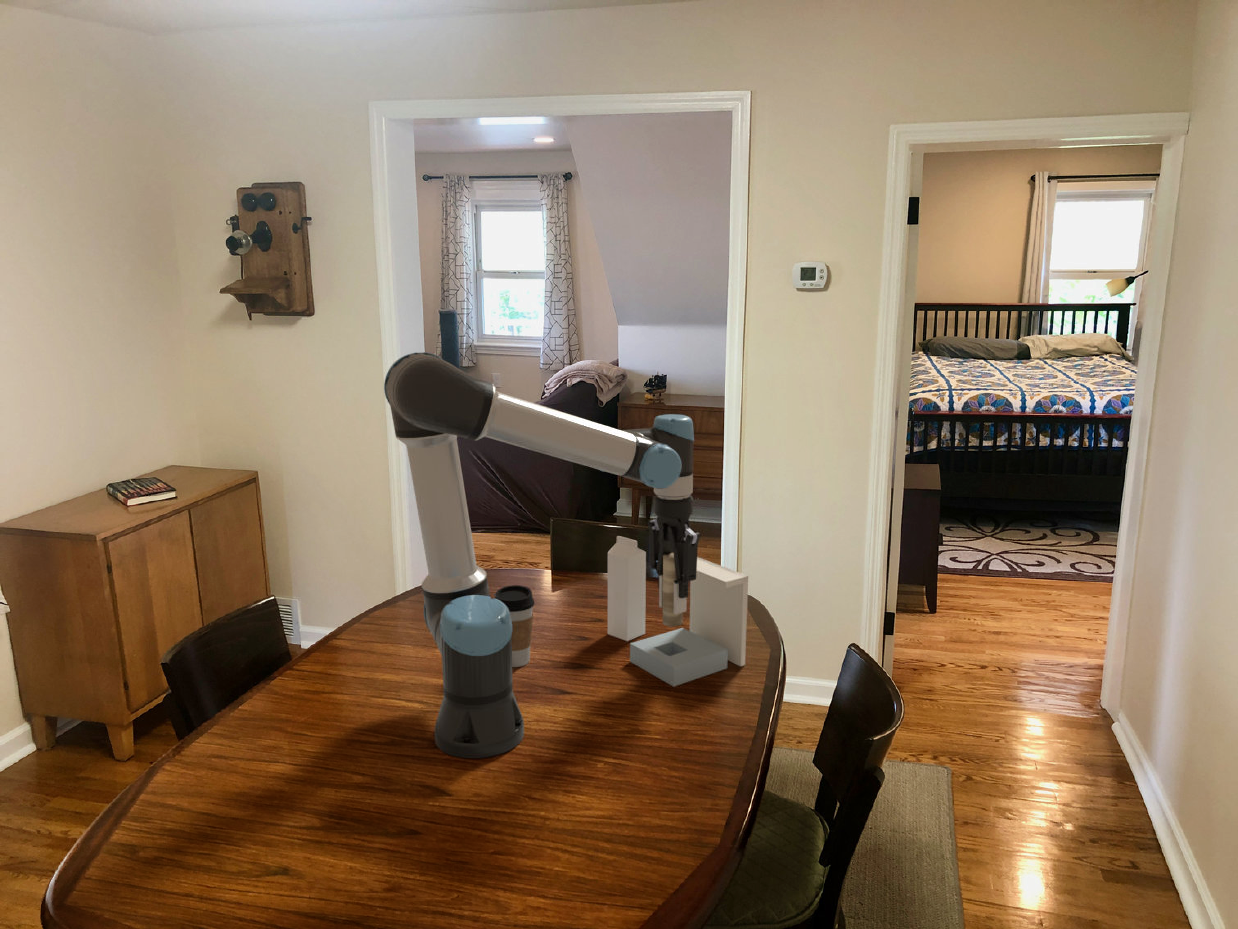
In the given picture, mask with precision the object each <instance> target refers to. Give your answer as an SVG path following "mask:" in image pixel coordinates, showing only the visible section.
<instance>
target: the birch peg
mask: <svg viewBox="0 0 1238 929" xmlns="http://www.w3.org/2000/svg"><path fill="white" fill-rule="evenodd" d="M682 576H683V575H682ZM674 580H677V578H676V570H675V561H674V553H673V552H672V553H668V554H664V555H663V607H662V624H663V625H664V626H667V627H671V628H672V627H674V628H675V627H680V626H682V625H683V623H684V612H682V613H679V614H674Z"/></svg>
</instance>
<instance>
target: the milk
mask: <svg viewBox="0 0 1238 929" xmlns="http://www.w3.org/2000/svg"><path fill="white" fill-rule="evenodd" d="M646 558H647V552H646V551H644V550H643V549H640V548H639V547H638V541H637V540H635V539H631V538H628V537H624V536H620V535H617V536H616V543H614V545H613V546H612V547H611V548H610V549H609V550H608V552H607V635H609V636H611V637H614V638H618V639H620V640H623V641H626V642H629V641H631V640H634V639H636V638H638V637H641V636H643V635H645V634H646V598H647V596H646V586H647V584H646V583H647V582H646V581H647V580H646V579H647V574H646V573H647V571H646V570H647V561H646V560H647V559H646Z"/></svg>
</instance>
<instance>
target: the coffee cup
mask: <svg viewBox="0 0 1238 929" xmlns="http://www.w3.org/2000/svg"><path fill="white" fill-rule="evenodd" d="M494 599H498V600H500V601H501V602H503V603H504V604H505V605H506V606H507V608H508V609H509V612H510V616H511V621H512V668H518V667H519V668H520V667H524V666H526V665H527V664H528V663H529V662H530V659H531V644H532V643H531V642H532V631H533V622H534V621H533V620H534V613H533V607H534V606H535V599H534V598H533V592H532V589H531V588H529V587H528V586H524V585H521V584H520V585H519V584H518V585H517V584H516V585H515V584H514V585H512V584H511V585H506V586H504V587H501V588H499V589H498V590H497V591H496V592H495V594H494Z"/></svg>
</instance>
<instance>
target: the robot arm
mask: <svg viewBox="0 0 1238 929" xmlns="http://www.w3.org/2000/svg"><path fill="white" fill-rule="evenodd" d="M383 385H384V386H383V390H384V396H385V399H386V400H387V403H388V404H389V407H390V411H391V417H392V418H391V419H392V423H393V428H394V434H395V438H396V439H397V440H399V441H400V442H401V443H403V444H404V445H405V446H406V451H407V456H408V462H409V467H410V474H411V479H412V484H413V486H412V487H413V491H414V492H413V493H414V495H415V496H414V497H415V503H416V509H417V514H418V520H419V524H420V530H421V536H422V537H421V538H422V542H423V550H424V555H425V560H426V567H427V572H428V574H427V575H426V577H425V578H424V579H423V581H422V582H421V589H422V593H423V594H422V595H423V601H424V603H423V618H424V622H425V625H426V628H427V629H428V631H429V632H430V633H431V636H432V638H433V640H434V642H435V644H436V646H437V648H438V651H439V652H440V655H441V661H442V662H441V666H442V684H443V686H442V687H443V688H442V689H443V698H442V701H441V705H440V707H439V710H438V714H437V718H436V721H435V723H434V724H435V725H434V742H435V745H436V746H437V748H438V749H440V750H441V752H442V753H445V754H447V755H450V756H453V757H457V758H463V759H482V758H489V757H494V756H497V755H501V754H504V753H506V752H509V751H510V750H512V749H514V748H515V747H517V746H518V745H519V744H520V742H522V740H523V739H524V736H525V722H524V717H523V714H522V712H521V710H520V706H519V704H518V702H517V699H516V696H515V694H514V691H513V690H514V687H513V667H512V621H511V616H510V612H509V609H508V608H507V606H506V605H505V604H504V603H503V602H501V601H500V600H498V599H495V598H492V597H491V594H490V588H489V582H488V574H487V572H486V571H485V570H484V569H483V568H482V567H481V566H478V565H477V559H476V555H475V554H476V552H475V548H474V540H473V534H472V529H471V527H472V526H471V522H470V516H469V508H468V504H467V496H466V490H465V484H464V478H463V471H462V466H461V465H462V464H461V459H460V452H459V446H458V439H457V438H458V437H461V438H464V439H468V440H472V441H479V440H480V439H483V438H484V437H485V438H489V439H492V440H496V441H499V442H502V443H505V444H509V445H513V446H516V447H520V448H523V449H526V450H529V451H533V452H538V453H541V454H544V455H548V456H551V457H553V458H554V457H555V458H558V459H561V460H565V461H568V462H572V463H575V464H579V465H582V466H587V467H590V468H592V469H595V470H599V471H601V472H606V473H610V474H612V475H613V474H614V475H617V476H621V477H623V478H626V479H628V480H629V479H630V480H632V481H637V482H640V483H643V484H644V486H645V485H646V486H647V487H649V488H653V493H654V494H655V496H654V497H653V512H654V514H655V515H656V516H657V517H656V519H651V520H648V521H647V526H648V527H647V528H648V531H649V553H650V558H649V559H650V568H651V569H652V570H655V571H656V574H657V577H658V578H657V581H658V582H657V587H658V589H659V590H658V600H659V602H658V604H659V605H658V607H659V608H662V609H663V555H664V554H668V553H674V561H675V570H676V578H677V580H674V614H679V613H682V612H683V613H685V612H687V599H688V597H689V583H690V582H691V581H693V580H696V572H697V557H698V547H699V546H698V545H699V542H700V539H701V533H699V532H694V531H693V530H692V529H691V524H690V517H691V515H692V514H693V513H694V511H693V510H694V507H693V506H694V504H693V503H694V501H693V500H694V497H693V496H692V494H693V492H694V491H693V490H694V489H693V488H694V486H693V485H694V442H695V436H694V435H695V434H694V422H693V420H692V418H691V417H690V416H687V415H685V414H673V413H672V414H670V413H669V414H662V415H661V414H660V415H658V416H655V418H654V421H653V425H652V427H647V428H633V429H617V428H614V427H611V426H608V425H604V424H602V423H598V422H595V421H591V420H588V419H585V418H582V417H579V416H577V415H573V414H570V413H567V412H563V411H561V410H557V409H554V408H551V407H548V406H544V405H541V404H537V403H535V402H531V401H529V400H525V399H521V398H519V397H517V396H513V395H509V394H506V393H503V392H500V391H498V390H497V388H496V386H495V384H494V383H492V382H489V381H486V380H483V379H481V378H477V377H475V376H474V375H472V374H469V373H467V372H465V371H463V369H462V370H461V369H460V368H458V367H456V366H455V365H454V364H451V363H450V362H448V361H446V360H444V359H443V358H442V357H439V356H438V355H436V354H433V353H432V352H431V353H430V352H426V351H425V352H424V351H423V352H411V353H409V354H405V355H403V356H401V357H399V358H398V359H397V360H396V361H394V362H393V363H392V364H391V366H390V367H389V369H388V370H387V372H386V376H385V379H384V382H383ZM682 575H683V576H682Z"/></svg>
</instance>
